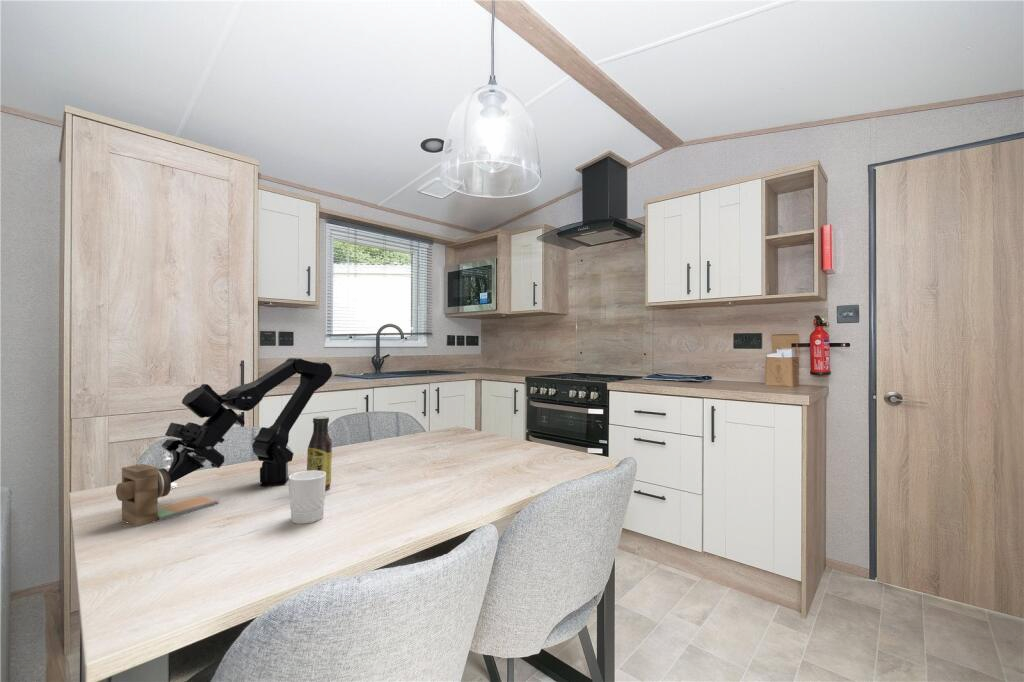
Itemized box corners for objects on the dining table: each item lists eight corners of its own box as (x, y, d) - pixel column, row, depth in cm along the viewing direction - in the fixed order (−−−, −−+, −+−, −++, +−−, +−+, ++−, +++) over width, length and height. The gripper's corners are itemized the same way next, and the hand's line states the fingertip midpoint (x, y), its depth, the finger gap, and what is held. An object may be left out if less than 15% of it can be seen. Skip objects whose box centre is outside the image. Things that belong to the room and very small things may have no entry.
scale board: (200, 498, 121) (200, 495, 121) (218, 503, 117) (218, 500, 117) (142, 514, 110) (142, 511, 110) (159, 520, 106) (159, 517, 106)
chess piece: (181, 485, 132) (182, 449, 132) (167, 490, 127) (167, 454, 127) (165, 484, 133) (165, 449, 133) (150, 490, 128) (150, 453, 128)
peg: (156, 493, 112) (157, 466, 112) (171, 498, 109) (171, 470, 109) (113, 504, 104) (113, 475, 104) (126, 509, 101) (126, 479, 101)
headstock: (142, 515, 110) (142, 463, 110) (157, 520, 106) (157, 467, 106) (121, 520, 106) (121, 467, 106) (136, 526, 103) (136, 471, 103)
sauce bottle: (301, 491, 127) (301, 418, 127) (318, 484, 133) (318, 414, 133) (319, 494, 125) (320, 419, 125) (336, 487, 130) (337, 416, 130)
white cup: (289, 527, 102) (289, 481, 102) (287, 515, 109) (287, 472, 109) (327, 521, 106) (327, 477, 106) (324, 510, 113) (324, 468, 113)
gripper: (170, 407, 120) (117, 459, 110) (211, 412, 111) (157, 470, 101) (203, 432, 127) (156, 484, 117) (244, 439, 118) (196, 496, 108)
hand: (165, 483), depth 111 cm, fingers closed
